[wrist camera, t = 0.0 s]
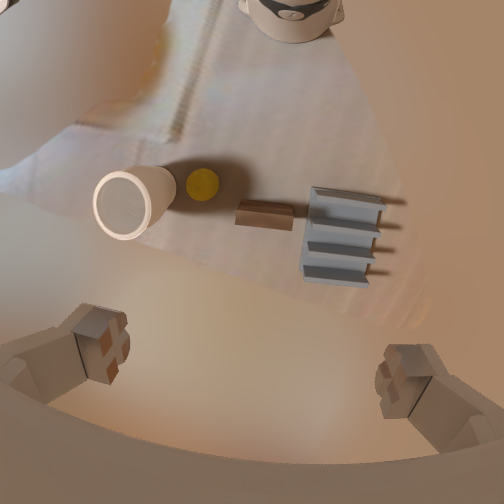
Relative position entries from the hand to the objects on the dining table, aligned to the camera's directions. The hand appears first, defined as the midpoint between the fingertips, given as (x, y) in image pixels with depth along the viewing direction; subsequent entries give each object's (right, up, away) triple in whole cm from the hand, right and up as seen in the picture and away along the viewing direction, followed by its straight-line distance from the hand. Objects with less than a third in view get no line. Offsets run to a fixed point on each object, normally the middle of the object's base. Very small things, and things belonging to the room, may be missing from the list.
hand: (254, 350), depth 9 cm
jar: (-18, +15, +48) cm, 53 cm away
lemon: (-8, +16, +47) cm, 50 cm away
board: (+3, +11, +47) cm, 49 cm away
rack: (+16, +6, +48) cm, 51 cm away
